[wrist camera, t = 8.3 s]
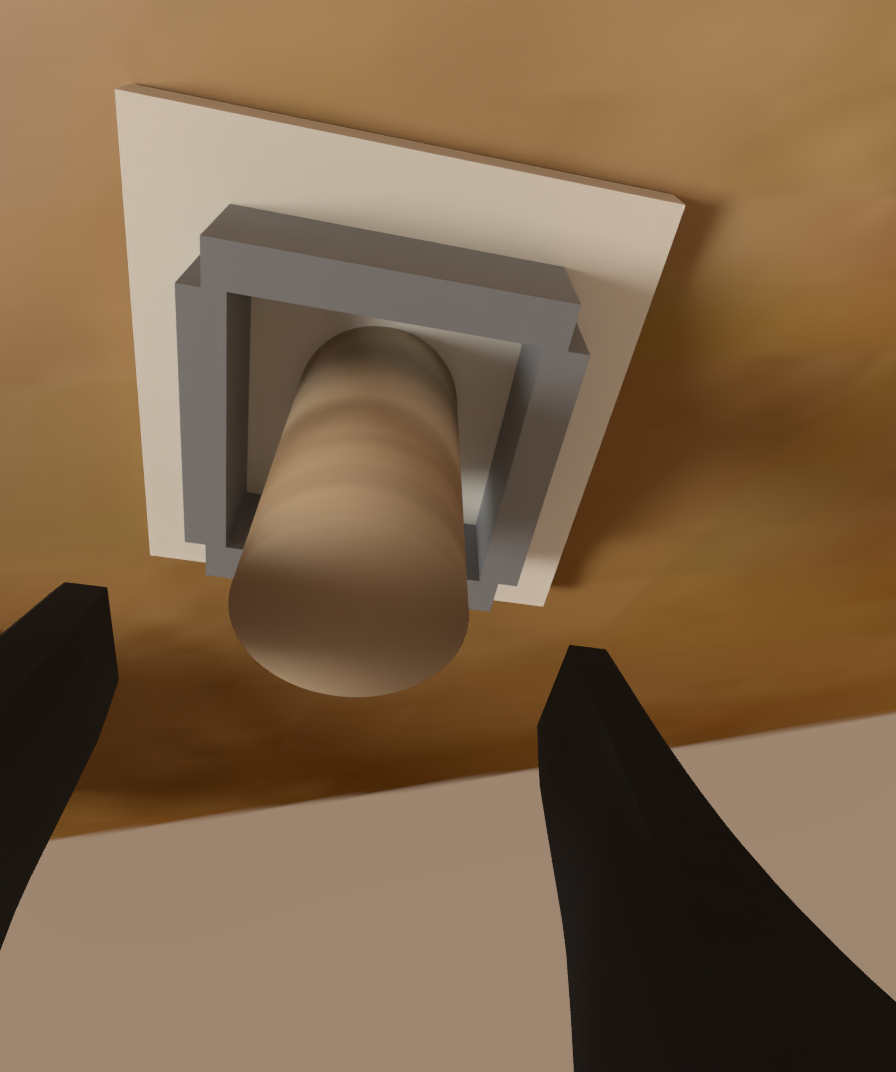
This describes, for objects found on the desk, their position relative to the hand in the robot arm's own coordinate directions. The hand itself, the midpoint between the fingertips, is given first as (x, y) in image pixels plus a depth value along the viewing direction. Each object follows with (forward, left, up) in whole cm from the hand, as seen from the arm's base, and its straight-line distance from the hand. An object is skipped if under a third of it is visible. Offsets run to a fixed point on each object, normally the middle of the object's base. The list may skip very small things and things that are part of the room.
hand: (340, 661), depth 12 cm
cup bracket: (0, 0, -10) cm, 10 cm away
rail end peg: (0, 0, -9) cm, 9 cm away
